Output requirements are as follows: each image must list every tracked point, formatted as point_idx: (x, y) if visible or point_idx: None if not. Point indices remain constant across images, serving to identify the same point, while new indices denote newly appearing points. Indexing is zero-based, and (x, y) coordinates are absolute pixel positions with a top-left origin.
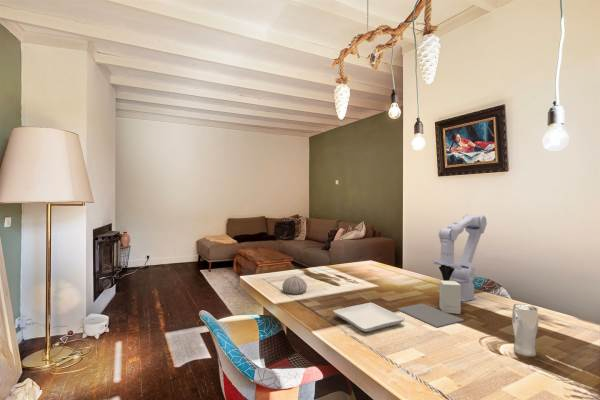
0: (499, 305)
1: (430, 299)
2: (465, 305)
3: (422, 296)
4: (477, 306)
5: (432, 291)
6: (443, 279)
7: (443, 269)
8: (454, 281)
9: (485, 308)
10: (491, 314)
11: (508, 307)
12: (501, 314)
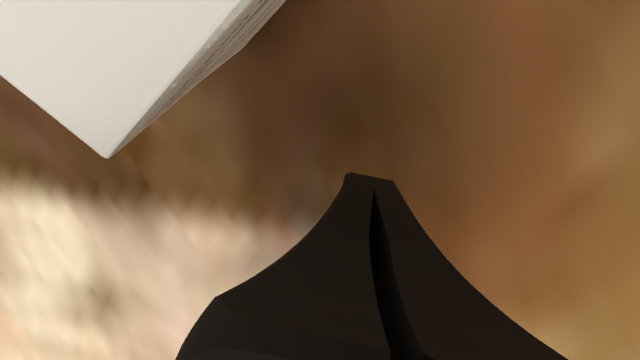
0: (148, 328)
1: (530, 89)
2: (249, 180)
3: (636, 110)
4: (193, 223)
5: (599, 299)
6: (394, 194)
7: (374, 321)
8: (86, 104)
9: (143, 224)
10: (39, 140)
11: (105, 329)
12: (22, 192)
